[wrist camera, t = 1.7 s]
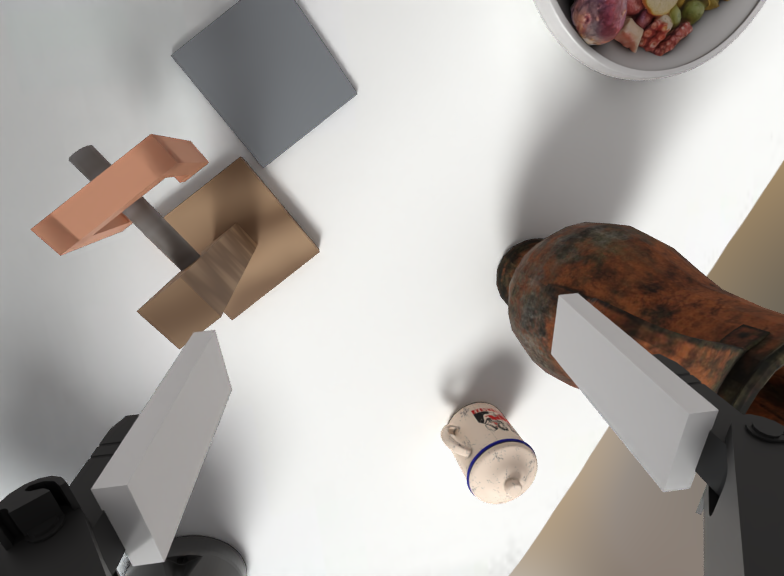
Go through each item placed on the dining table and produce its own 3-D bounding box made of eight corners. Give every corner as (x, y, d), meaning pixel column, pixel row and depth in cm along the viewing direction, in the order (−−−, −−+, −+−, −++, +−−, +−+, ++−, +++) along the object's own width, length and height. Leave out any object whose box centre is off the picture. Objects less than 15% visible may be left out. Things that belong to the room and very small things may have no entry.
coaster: (263, 167, 41) (263, 167, 41) (172, 57, 37) (170, 55, 36) (356, 94, 41) (357, 93, 40) (276, -26, 37) (275, -29, 36)
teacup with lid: (515, 411, 58) (565, 470, 47) (483, 462, 59) (524, 530, 48) (447, 383, 54) (484, 440, 43) (414, 438, 55) (442, 506, 44)
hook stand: (319, 249, 45) (334, 323, 24) (234, 315, 45) (178, 445, 24) (208, 117, 39) (105, 68, 18) (111, 194, 39) (-99, 231, 18)
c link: (122, 231, 33) (60, 255, 24) (101, 211, 32) (30, 229, 24) (209, 162, 33) (177, 163, 24) (190, 141, 32) (150, 134, 23)
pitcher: (555, 351, 56) (811, 543, 28) (421, 301, 49) (580, 486, 21) (616, 241, 53) (974, 333, 25) (482, 172, 46) (761, 191, 18)
